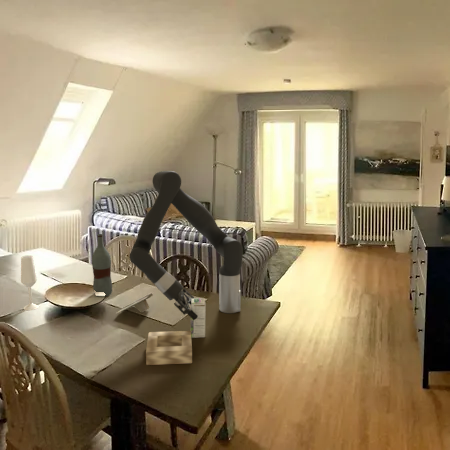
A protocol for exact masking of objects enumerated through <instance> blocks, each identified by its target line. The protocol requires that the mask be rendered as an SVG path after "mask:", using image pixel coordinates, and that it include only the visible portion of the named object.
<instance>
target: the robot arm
mask: <svg viewBox="0 0 450 450" xmlns="http://www.w3.org/2000/svg"><path fill="white" fill-rule="evenodd" d="M152 185H153V188H154V190H155V191H156V192H157V193H158V195H157V197H156V200H155V201H154V203H153V205H152V206H151V208H150V209H149V210H148V212H147V213H146V215H145V216H144V218H143V220H142V223H141V225H140V227H139V230H138V233H137V237H136V240H135V241H134V244H133V246H132V248H131V250H130V253H129V260H130V263H132V264H133V265H134V266H135V267H137V269H139V270H140V271H141V272H142V273H143V274H144V275H145V276H146V278H147V279H148V280H149V281H150V282H151V283H152V284H154V286H155V287H156V288H157V290H159V291H160V292H161V293H162V294H163V296H165V297H166V298H167V299H168V300H169V301H172V300H174V301H175V302H174V303H173V304H174V307H175V308H177V309H178V311H180V312H181V314H183V315H184V316H185V315H187V316H189V317H190V319H191V318H192V319H193V320H195V319H196V318H197V317H198V315H197V314H196V313H194V312H193V311H192V310H191V299H193V298H195V297H194V295H192V294H191V293H190V292H189V291H188V290H187V289H186V288H184V286H183V284H181V283H180V282H179V281H178V279H176V278H175V276H173V275H172V274H171V273H170V272H168V271H167V270H166V269H165V268H164V267H163V266H162V265H161V264H160V263H158V262H157V260H156V259H155V258H154V257H153V256H152V255H151V254H150V251H151V248H152V246H153V243H154V242H155V240H156V238H157V236H158V232H159V230H160V227H161V224H162V222H163V220H164V218H165V216H166V214H167V212H168V211H169V208H170V206H171V205H173V207H174V208H175V209H176V210H177V211H178V212H179V214H180V215H182V217H184V219H186V221H187V222H188V223H189V224H190V225H191V226H192V227H193V229H195V230H196V231H197V232H198V233H199V234H201V235H202V236H203V237H204V238H206V239H207V240H208V242H209V243H210V245H212V247H213V248H214V249H215V251H216V252H217V253H218V254H219V256H221V257H223V265H220V267H219V268H218V269H219V273H218V274H219V276H218V279H219V281H218V284H219V287H218V288H219V292H218V293H219V299H218V300H219V301H218V302H219V304H218V308H219V311H220V312H222V313H224V314H235V313H238V312H241V269H242V266H243V252H244V250H243V249H244V248H243V245H242V243H241V241H239V240H237V239H235V238H233V237H231V236H229V235H228V234H227V233H225V232H224V230H222V229H221V228H220V227H219V226H218V224H217V222H216V220H215V218H214V216H213V215H212V213H211V212H210V211H209V209H207V208H206V207H205V206H204V204H202V203H201V202H200V201H198V200H197V199H195V198H194V197H192V196H190V195H189V194H188V193H186V192H185V191H184V190H183V189H182V188H181V186H182V178H181V176H180V174H179V173H178V172H177V171H174V170H173V171H172V170H163V171H159V172H155V174H154V175H153V177H152Z"/></svg>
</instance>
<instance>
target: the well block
mask: <svg viewBox="0 0 450 450" xmlns="http://www.w3.org/2000/svg"><path fill="white" fill-rule="evenodd" d="M147 335H148V336H147V342H146V343H147V344H146V349H145V350H146V351H145V357H146V358H145V362H146V366H150V365H151V366H152V365H153V366H154V365H175V364H176V365H177V364H181V365H182V364H192V363H193V346H192V341H193V340H192V338H191V330H176V331H175V330H174V331H150V332H148V334H147Z"/></svg>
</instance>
